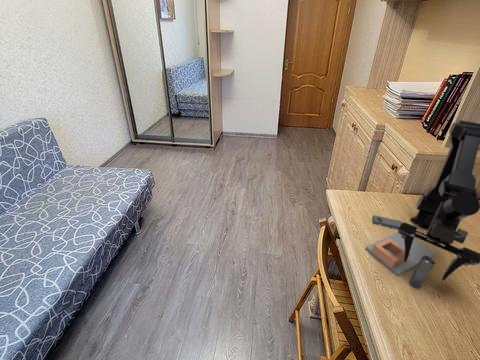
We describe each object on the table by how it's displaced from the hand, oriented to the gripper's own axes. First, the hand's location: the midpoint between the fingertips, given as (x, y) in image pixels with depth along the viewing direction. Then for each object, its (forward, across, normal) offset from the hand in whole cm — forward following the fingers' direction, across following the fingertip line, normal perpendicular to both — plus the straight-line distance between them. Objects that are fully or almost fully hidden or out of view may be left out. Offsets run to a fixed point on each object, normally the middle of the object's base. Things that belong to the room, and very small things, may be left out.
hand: (423, 270), depth 72 cm
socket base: (-3, -7, +13) cm, 15 cm away
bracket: (-12, -14, +23) cm, 29 cm away
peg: (+4, 0, +6) cm, 7 cm away
